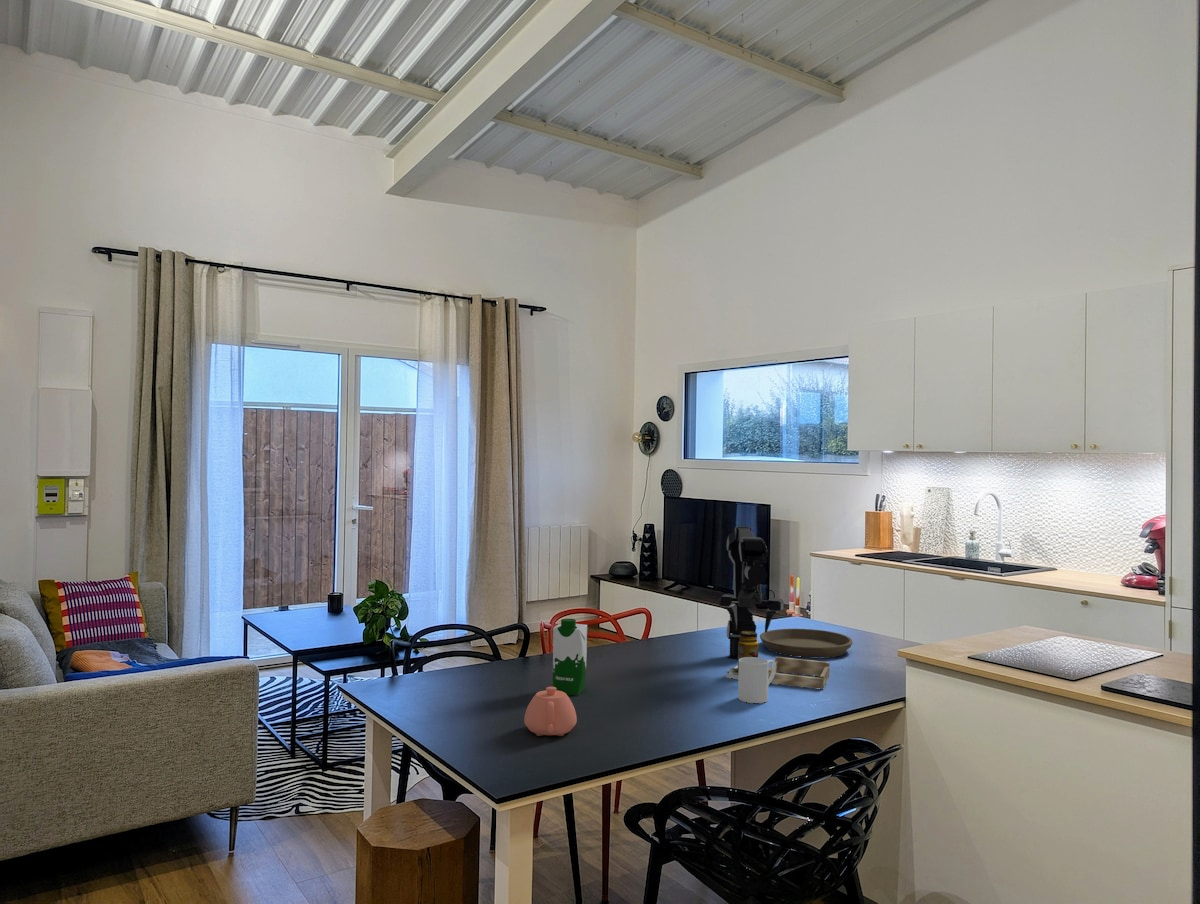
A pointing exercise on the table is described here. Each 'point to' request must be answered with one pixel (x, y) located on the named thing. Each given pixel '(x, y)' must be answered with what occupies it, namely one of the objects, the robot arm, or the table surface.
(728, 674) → the grey mat
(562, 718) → the sugar bowl
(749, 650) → the condiment
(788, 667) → the pine frame
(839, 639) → the plant saucer
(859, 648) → the table surface
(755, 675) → the mug
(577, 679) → the milk carton
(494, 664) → the table surface
